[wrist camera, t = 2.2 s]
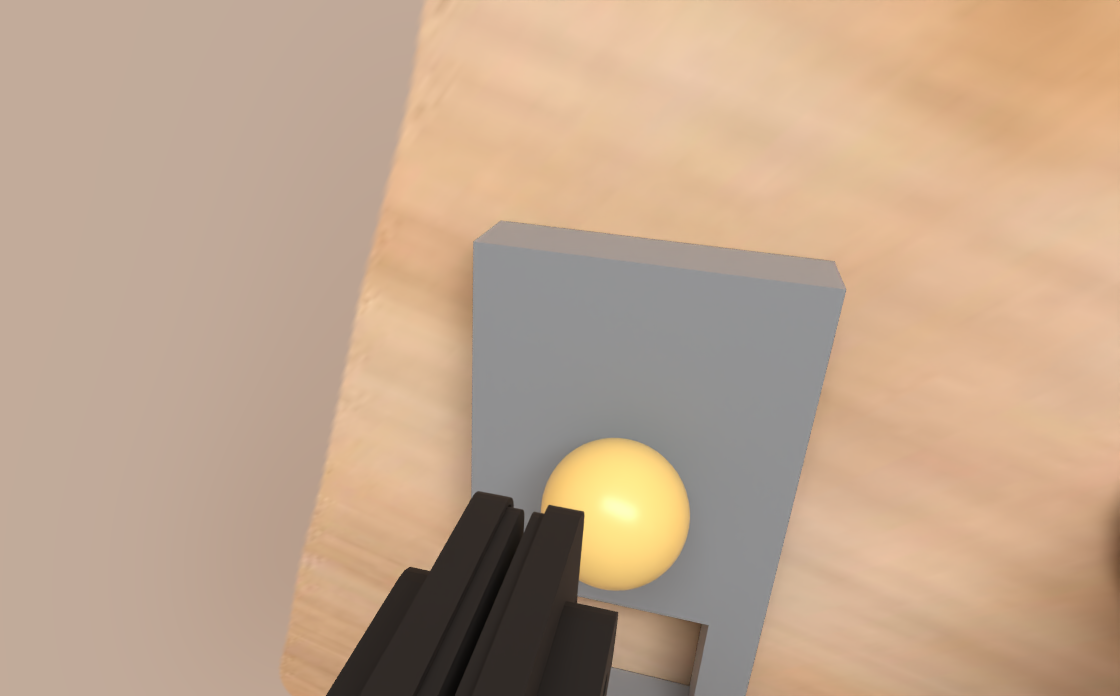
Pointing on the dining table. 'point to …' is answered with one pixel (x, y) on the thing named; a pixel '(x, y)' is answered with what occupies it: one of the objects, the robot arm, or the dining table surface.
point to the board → (658, 404)
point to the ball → (622, 511)
